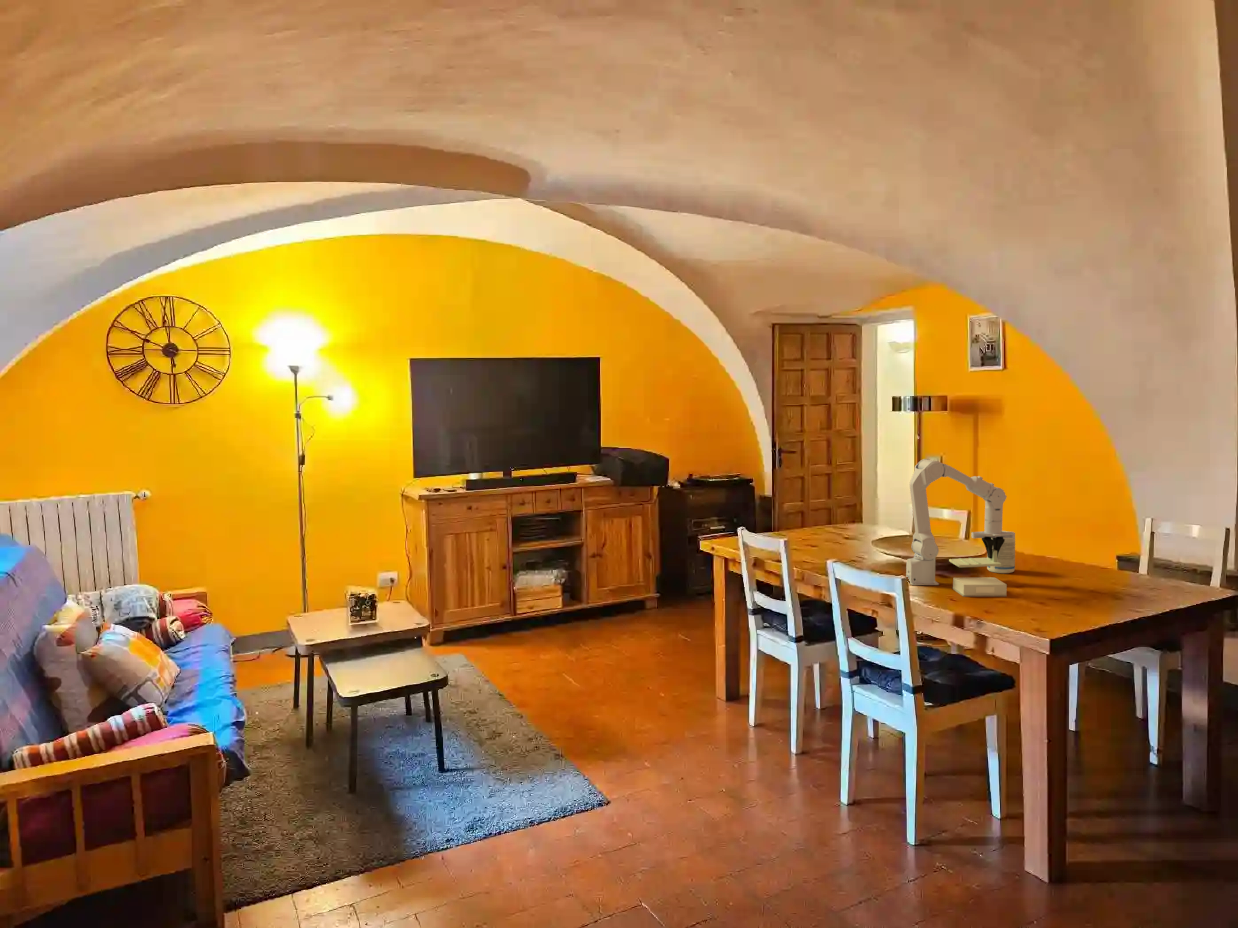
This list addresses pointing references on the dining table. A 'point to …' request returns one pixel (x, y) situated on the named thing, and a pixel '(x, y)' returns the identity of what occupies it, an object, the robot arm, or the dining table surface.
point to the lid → (977, 561)
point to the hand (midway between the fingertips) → (992, 557)
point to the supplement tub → (1005, 557)
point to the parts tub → (979, 586)
